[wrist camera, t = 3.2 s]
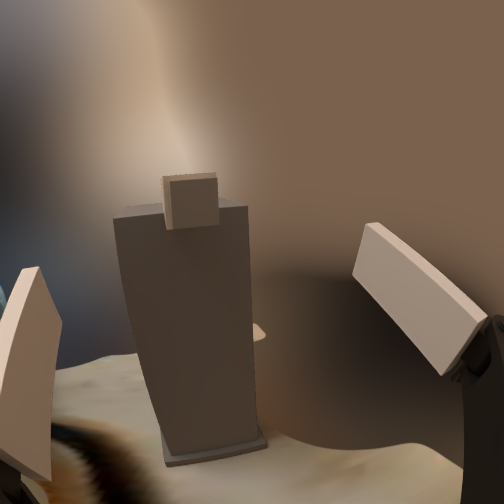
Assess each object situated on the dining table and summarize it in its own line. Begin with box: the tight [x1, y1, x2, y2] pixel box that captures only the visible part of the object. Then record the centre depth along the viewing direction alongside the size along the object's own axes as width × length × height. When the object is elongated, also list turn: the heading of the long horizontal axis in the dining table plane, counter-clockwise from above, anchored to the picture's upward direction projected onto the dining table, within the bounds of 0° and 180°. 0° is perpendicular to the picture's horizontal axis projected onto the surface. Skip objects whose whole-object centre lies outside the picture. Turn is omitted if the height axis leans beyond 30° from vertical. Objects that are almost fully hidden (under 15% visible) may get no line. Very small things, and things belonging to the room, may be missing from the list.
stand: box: [113, 198, 267, 467], centre depth 35 cm, size 14×14×32 cm
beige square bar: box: [161, 173, 220, 230], centre depth 27 cm, size 3×28×3 cm, turn 18°
